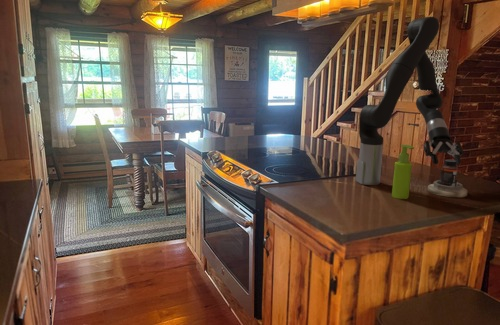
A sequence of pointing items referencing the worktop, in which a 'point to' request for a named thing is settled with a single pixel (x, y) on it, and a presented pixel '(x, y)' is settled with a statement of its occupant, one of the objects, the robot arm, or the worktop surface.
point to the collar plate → (448, 194)
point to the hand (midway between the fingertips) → (447, 164)
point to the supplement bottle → (449, 173)
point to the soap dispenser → (402, 175)
